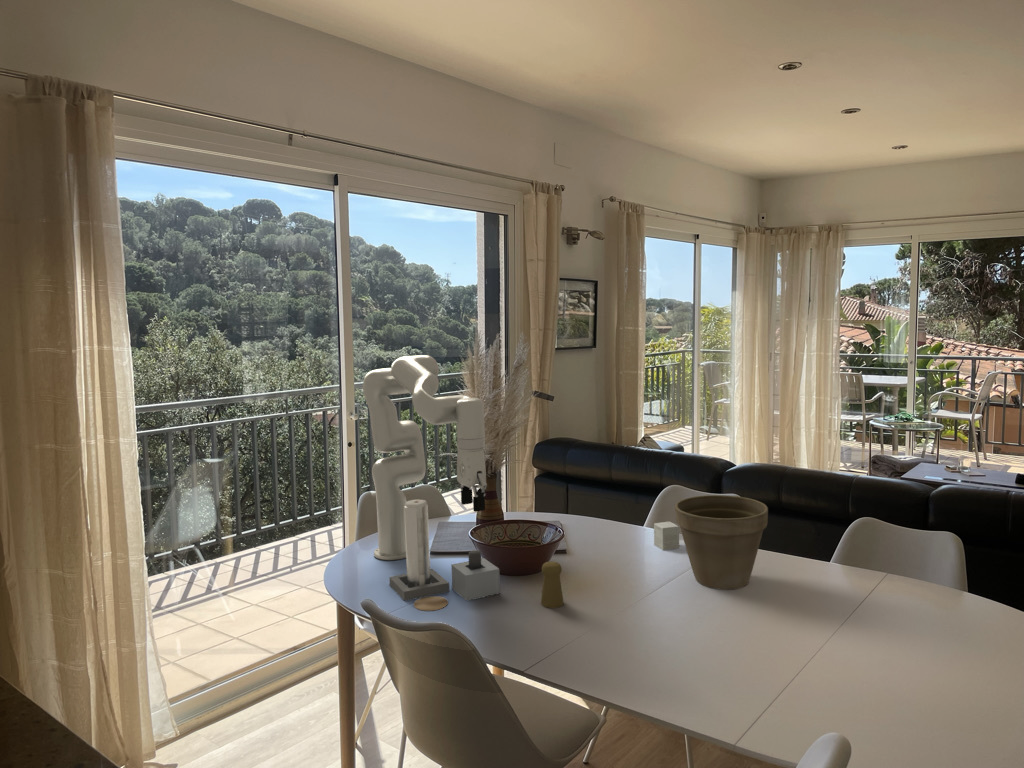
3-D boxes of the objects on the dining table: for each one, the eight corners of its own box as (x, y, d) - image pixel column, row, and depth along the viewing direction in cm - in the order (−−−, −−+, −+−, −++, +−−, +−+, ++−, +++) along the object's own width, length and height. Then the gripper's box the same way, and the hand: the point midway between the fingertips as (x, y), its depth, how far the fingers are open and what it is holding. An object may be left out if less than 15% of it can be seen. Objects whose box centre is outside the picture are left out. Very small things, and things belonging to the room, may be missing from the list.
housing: (452, 588, 204) (451, 564, 203) (484, 581, 209) (483, 558, 208) (466, 600, 195) (465, 575, 195) (499, 593, 200) (499, 568, 199)
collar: (389, 585, 208) (389, 576, 208) (432, 576, 214) (432, 568, 213) (404, 600, 196) (404, 591, 196) (449, 591, 202) (448, 582, 202)
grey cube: (653, 544, 238) (653, 523, 237) (670, 542, 240) (670, 521, 239) (662, 550, 232) (662, 528, 231) (679, 548, 234) (679, 526, 233)
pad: (409, 601, 196) (409, 600, 196) (440, 594, 200) (440, 593, 200) (420, 613, 188) (420, 612, 188) (453, 606, 192) (453, 605, 192)
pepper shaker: (566, 600, 194) (565, 560, 193) (560, 609, 189) (559, 567, 187) (544, 597, 196) (543, 558, 195) (537, 606, 190) (537, 565, 189)
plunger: (466, 565, 202) (466, 551, 202) (478, 563, 204) (477, 549, 203) (471, 569, 199) (471, 555, 199) (483, 567, 201) (482, 553, 200)
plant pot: (667, 590, 199) (667, 513, 197) (682, 561, 222) (682, 491, 219) (764, 602, 190) (765, 521, 187) (769, 570, 212) (770, 497, 210)
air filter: (432, 584, 208) (429, 498, 205) (427, 593, 201) (424, 504, 199) (410, 583, 209) (407, 498, 206) (404, 592, 202) (401, 504, 200)
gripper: (446, 440, 204) (448, 502, 206) (471, 450, 188) (473, 517, 190) (470, 437, 207) (472, 498, 209) (497, 447, 192) (499, 512, 193)
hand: (473, 506), depth 200 cm, fingers open, 7 cm apart
